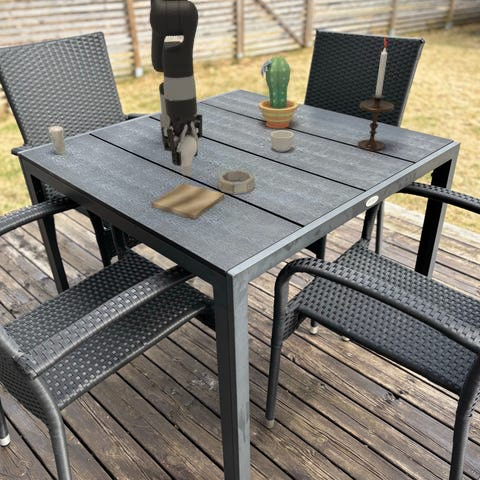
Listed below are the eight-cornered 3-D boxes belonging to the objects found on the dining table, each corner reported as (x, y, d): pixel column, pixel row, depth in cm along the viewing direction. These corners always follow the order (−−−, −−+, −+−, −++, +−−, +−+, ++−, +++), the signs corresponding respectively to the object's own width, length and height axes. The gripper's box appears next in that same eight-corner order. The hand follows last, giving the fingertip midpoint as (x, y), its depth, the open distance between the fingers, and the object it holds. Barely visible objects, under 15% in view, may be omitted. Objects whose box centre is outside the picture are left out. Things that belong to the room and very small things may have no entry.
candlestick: (348, 143, 162) (361, 35, 144) (374, 139, 166) (389, 33, 147) (367, 154, 154) (383, 40, 135) (394, 149, 157) (413, 37, 139)
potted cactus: (271, 116, 190) (273, 51, 177) (304, 123, 183) (308, 55, 169) (250, 126, 180) (249, 58, 167) (284, 133, 172) (286, 63, 159)
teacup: (290, 154, 154) (291, 138, 152) (268, 152, 156) (268, 137, 154) (296, 144, 163) (296, 129, 160) (274, 142, 164) (275, 127, 162)
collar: (212, 189, 132) (212, 179, 131) (230, 176, 140) (230, 167, 138) (242, 196, 128) (242, 186, 126) (259, 183, 135) (259, 173, 134)
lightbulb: (203, 172, 123) (201, 132, 117) (191, 181, 118) (188, 140, 112) (182, 168, 125) (179, 129, 119) (170, 177, 120) (166, 136, 114)
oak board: (151, 206, 124) (151, 202, 123) (183, 187, 134) (183, 183, 133) (194, 219, 117) (194, 215, 117) (224, 197, 128) (224, 193, 127)
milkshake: (72, 151, 159) (66, 123, 154) (58, 156, 156) (51, 127, 150) (65, 148, 162) (59, 120, 156) (51, 152, 158) (44, 124, 153)
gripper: (185, 86, 117) (190, 149, 126) (148, 99, 107) (156, 167, 116) (210, 89, 114) (213, 154, 123) (174, 104, 104) (180, 173, 112)
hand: (185, 160), depth 119 cm, fingers closed on lightbulb, 6 cm apart
